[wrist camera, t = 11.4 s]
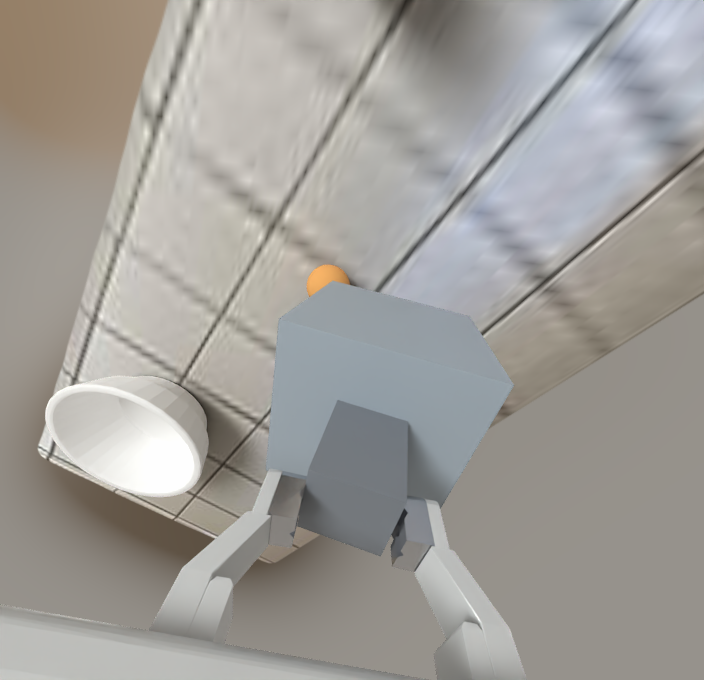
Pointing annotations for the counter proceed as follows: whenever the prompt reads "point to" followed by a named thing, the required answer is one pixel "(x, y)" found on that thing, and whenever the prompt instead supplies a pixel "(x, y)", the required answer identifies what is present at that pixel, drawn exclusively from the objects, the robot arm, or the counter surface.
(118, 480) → the bowl
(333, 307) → the grey block with knob
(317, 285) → the ball
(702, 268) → the counter surface
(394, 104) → the counter surface
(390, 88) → the counter surface
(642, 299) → the counter surface
